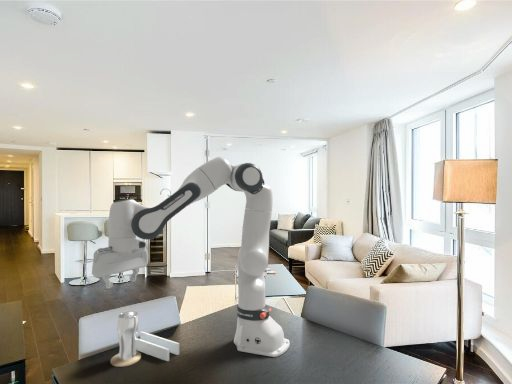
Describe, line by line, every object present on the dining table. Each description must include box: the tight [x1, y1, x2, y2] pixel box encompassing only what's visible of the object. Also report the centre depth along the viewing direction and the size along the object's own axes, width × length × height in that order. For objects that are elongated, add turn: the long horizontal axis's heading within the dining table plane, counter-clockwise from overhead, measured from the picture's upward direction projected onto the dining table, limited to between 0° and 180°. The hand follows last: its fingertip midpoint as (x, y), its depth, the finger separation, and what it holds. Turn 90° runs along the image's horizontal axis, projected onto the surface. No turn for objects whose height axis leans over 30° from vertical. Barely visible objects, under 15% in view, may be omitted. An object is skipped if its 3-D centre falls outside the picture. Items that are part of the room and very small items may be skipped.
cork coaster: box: [110, 350, 142, 368], centre depth 107 cm, size 10×10×1 cm
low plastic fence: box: [136, 330, 180, 362], centre depth 113 cm, size 20×6×4 cm, turn 61°
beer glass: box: [116, 310, 139, 361], centre depth 107 cm, size 7×7×15 cm
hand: (121, 284), depth 105 cm, fingers open, 8 cm apart
